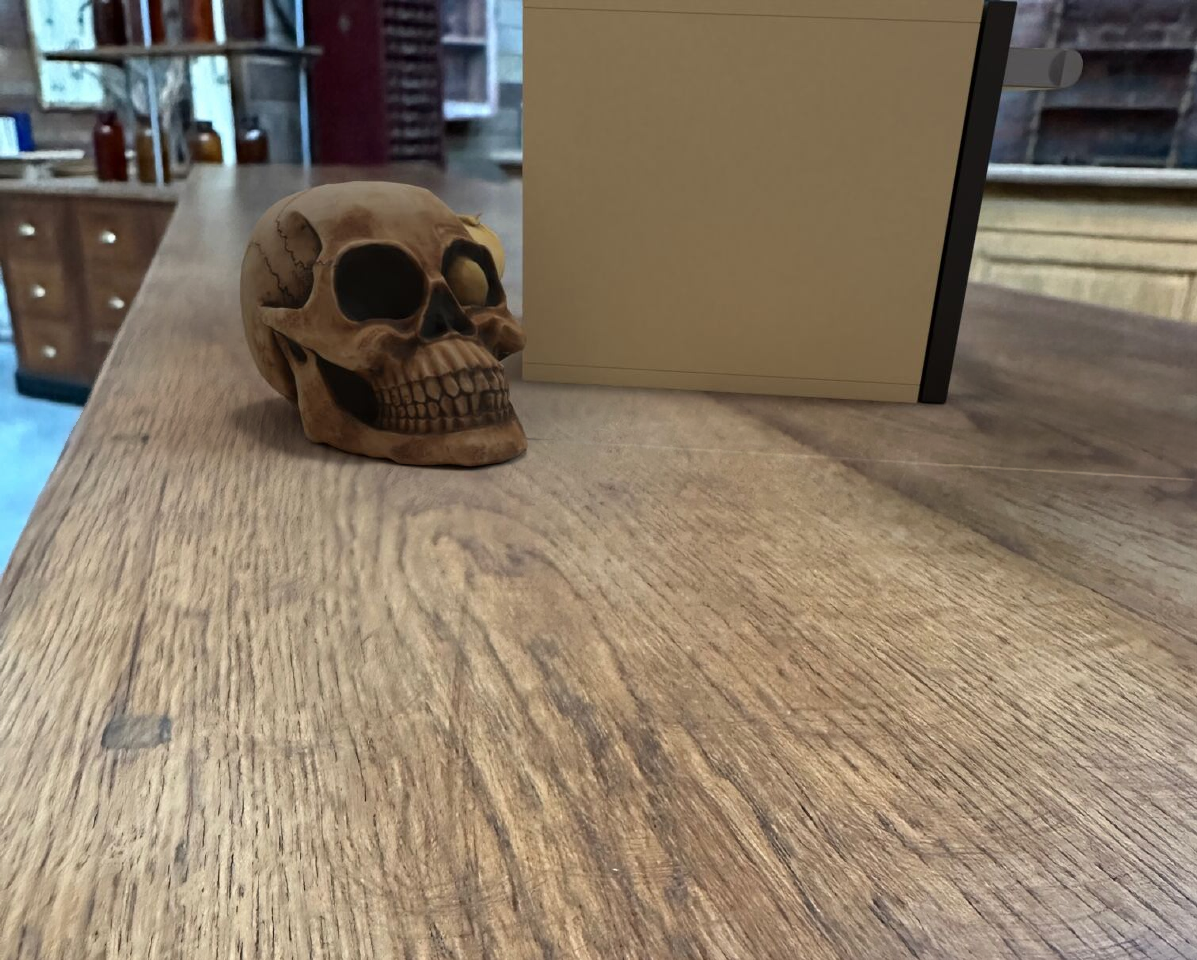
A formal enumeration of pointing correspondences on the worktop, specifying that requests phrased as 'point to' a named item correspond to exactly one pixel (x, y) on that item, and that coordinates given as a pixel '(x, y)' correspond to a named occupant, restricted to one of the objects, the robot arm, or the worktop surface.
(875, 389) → the oven
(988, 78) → the oven door
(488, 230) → the onion
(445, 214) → the brown skull
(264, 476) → the worktop surface
